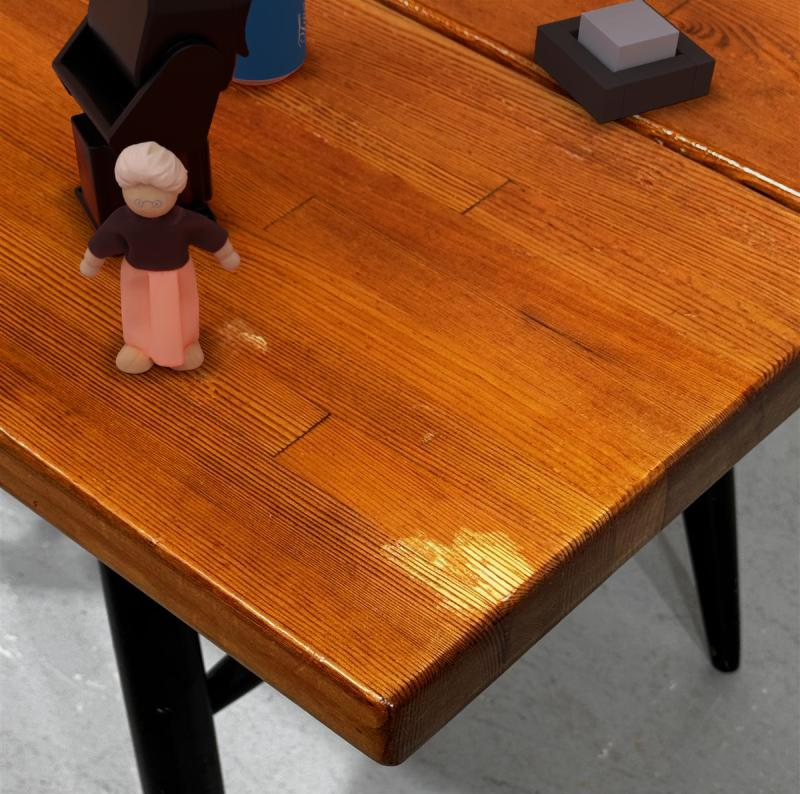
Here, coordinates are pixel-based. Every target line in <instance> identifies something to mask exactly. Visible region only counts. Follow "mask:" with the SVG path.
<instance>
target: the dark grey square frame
mask: <svg viewBox="0 0 800 794" xmlns="http://www.w3.org/2000/svg"><path fill="white" fill-rule="evenodd" d="M642 1H643V2H645V3H646V4H647V5H648V6H649V7H651V8H652V9H653V10H654V11H655V12H657V13H658V14H659V15H660V16H661V17H663V18H664V19H665V20H666V21H667V22H668V23H670V24H671V25H672V26H673V27H674V28H676V29H677V30H678V31H679V37H678V42H677V47H676V53H675V56H674V57H670V58H666V59H662V60H659V61H655V62H651V63H647V64H643V65H639V66H636V67H632V68H628V69H624V70H620V71H616V72H614V73H613V72H612V71H611V70H610V69H608V68H607V67H606V66H605V65H604V64H603V63H602V62H601V61H600V60H599V59H597V58H596V57H595V56H594V55H593V54H592V53H591V52H590V51H589V50H588V49H586V48H585V47H584V46H583V45H582V44H581V43H580V42H579V41H578V35H579V28H580V20H581V14H580V15H577V16H573V17H568V18H564V19H560V20H557V21H551V22H547V23H544V24H543V23H542V24H539V25H537V26H536V32H535V33H536V34H535V44H534V51H533V61H534V62H535V63H536V64H537V65H538V66H539V67H540V68H542V70H543V71H544V72H546V73H547V74H548V76H550V77H551V78H552V79H553V80H554V81H555V82H556V83H557V84H558V85H559V86H560V87H561V88H562V89H564V91H565V92H567V94H569V95H570V96H571V98H573V99H574V100H575V102H577V104H579V105H580V106H581V107H582V108H583V109H584V110H585V111H586V112H587V113H588V114H589V115H590V116H592V117H593V118H594V119H595V120H596V121H597V123H598V124H605V123H608V122H613V121H616V120H619V119H624V118H627V117H631V116H635V115H638V114H643V113H645V112H646V113H647V112H649V111H653V110H657V109H660V108H665V107H668V106H672V105H675V104H678V103H682V102H686V101H689V100H693V99H696V98H701V97H704V96H707V95H710V91H711V85H712V81H713V75H714V71H715V68H716V67H715V66H716V63H717V62H716V58H714V57H713V56H712V55H710V54H709V53H708V52H707V51H706V50H705V49H703V48H702V47H701V46H700V45H699V44H698V43H696V42H695V41H694V40H692V39H691V38H690V37H689V36H688V35H687V34H685V33H684V32H683V31H681V30H680V29H679V28H678V27H677V26H675V25H674V23H672V22H671V21H669V19H667V18H666V17H665V16H663V14H662V13H660V12H659V11H657V10H656V9H655V8H654V7H653V6H652V5H650V4H649V3H648V2H647V1H646V0H642Z"/></svg>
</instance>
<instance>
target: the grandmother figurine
mask: <svg viewBox="0 0 800 794" xmlns="http://www.w3.org/2000/svg"><path fill="white" fill-rule="evenodd" d="M187 173H188V171H187V170H186V169H185V168H184V166H183V164H182V163H181V161H180V160H179V159H178V158H177V157H176V156H175V155H174V154H173V153H172V152H171V151H169V150H167V149H165V148H164V147H161V146H160V145H158V144H157V143H156V142H146V143H140V144H137V145H132V146H129V147H127V148H125V149H124V150H123V151H122V153H121V154H120V156H119V157H118V159H117V162H116V166H115V177H116V181H117V182H118V184H119V186H120V187H122V191H123V196H124V199H125V202H126V203H127V205H124V206H122V207H120V208H118V209H116V210H115V211H114V212H113V213H112V214H111V215H110V216H109V217H108V219H107V220H106V221H105V222H104V223H103V224H102V225H101V226H100V227H99V229H98V230H97V231H96V232H95V231H94V234H93V235H92V236H91V237H90V238H89V239H88V243H87V248H86V250H85V252H84V254H83V255H84V257H83V259H82V260H81V262H80V263H79V272H80V273H81V275H82V276H83V277H85V278H88V279H94V278H96V277H98V276H99V275H100V273H101V271H102V266H103V265H104V264H105V262H106V259H107V258H109V257H111V256H117V255H116V254H120V255H122V254H121V253H123V258H122V261H121V264H120V274H119V275H120V279H119V281H120V285H119V287H120V288H119V289H120V306H121V307H120V308H121V324H122V334H123V335H122V336H123V341H124V345H123V346H122V348H121V349H120V350H119V352H118V354H117V355H116V358H115V365H116V367H117V368H118V370H119V371H121V372H123V373H127V374H137V375H138V374H142V373H145V372H147V371H149V370H150V369H151V368H152V367H153V366H154V364H156V365H158V366H159V367H166V368H170V369H172V370H173V371H179V372H180V371H181V372H182V371H192V370H195V369H198V368H200V366H202V365H203V363H204V362H205V355H204V352H203V349H202V347H201V345H200V341H199V339H200V300H199V299H200V298H199V297H200V296H199V290H198V281H197V275H196V274H197V273H196V268H195V264H194V261H193V258H192V256H191V253H190V252H189V247H190V246H193V247H195V248H197V249H200V250H202V251H204V252H207V253H210V254H212V255H213V256H214V257H215V258H216V259H218V263H219V265H220V267H221V268H222V269H223V270H224V271H225V270H226V271H227V272H232V271H236V270H237V269H238V268H239V267H240V265H241V257H240V254H239V253H238V252H237V251H236V250H234V247H233V244H232V243H231V241H230V239H229V231H228V230H227V229H226V228H224V227H223V226H221V225H220V224H218V223H217V224H216V223H215V222H213V221H212V220H210V219H209V218H207V217H205V216H204V215H201V214H199V213H196V212H193V211H190V210H187V209H184V208H182V207H180V206H178V205H175V202H176V200H177V196H178V194H179V193H181V192H182V190H183V189H184V188H185V186H186V183H187Z"/></svg>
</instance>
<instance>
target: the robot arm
mask: <svg viewBox="0 0 800 794" xmlns="http://www.w3.org/2000/svg"><path fill="white" fill-rule="evenodd" d="M251 2H252V0H88V4H87V13H86V15H85V16H84V17H83V19H81V21H80V23H79V24H78V25H77V27H76V28H75V30H74V31H73V33H72V34H71V35H70V36H69V38H68V39H67V40H66V42H65V44H64V45H63V46H62V47H61V48H60V50H59V52H57V55H56V56H55V57H54V58H53V60H52V61H51V68H52V70H53V71H54V73H55V75H56V76H57V78H58V80H59V81H60V84H61V85H62V87H63V89H64V90H65V91H66V93H67V94H68V95H69V96H71V97H72V98H73V99H74V101H75V102H76V103H77V105H78V107H80V109H81V110H82V113H78V114H74V115H72V116H71V117H70V124H71V130H72V135H73V136H72V137H73V142H74V143H73V144H74V150H75V155H76V160H77V162H76V163H77V169H78V174H79V175H78V176H79V183H80V184H79V185H78V186H76V187H75V188H74V189H73V193H74V198H75V200H76V202H77V204H78V206H79V207H80V209H81V210H82V212H83V214H84V216H85V217H86V219H87V221H88V223H89V224H90V226H91V228H92V229H93V231H94V233H95V232H96V231H97V230H98V229H99V227H100V226H101V225H102V224H103V223H104V222H105V221H106V220H107V219H108V217H109V216H110V215H111V214H112V213H113V212H114V211H115V210H116V209H118V208H120V207H122V206H124V205H127V203H126V202H125V199H124V196H123V191H122V187H120V186H119V184H118V182H117V181H116V177H115V166H116V162H117V159H118V157H119V156H120V154H121V153H122V151H123V150H124V149H125V148H127V147H129V146H132V145H137V144H140V143H146V142H156V143H157V144H158V145H160V146H161V147H164V148H165V149H167V150H169V151H171V152H172V153H173V154H174V155H175V156H176V157H177V158H178V159H179V160H180V161H181V163H182V164H183V166H184V168H185V169H186V170H187V171H188V173H187V183H186V186H185V188H184V189H183V190H182V192H181V193H179V194H178V196H177V200H176V202H175V205H178V206H180V207H182V208H184V209H187V210H190V211H193V212H196V213H199V214H201V215H204V216H205V217H207V218H209V219H210V220H212V221H213V222H215V223H216V224H218V221H217V219H218V218H217V216H216V214H215V213H214V211H213V210H212V208H211V207H210V205H209V204H208V203H207V202H209V201H211V200H212V199H213V197H214V190H213V177H212V165H211V152H210V140H209V138H208V136H209V133H210V129H211V125H212V122H213V119H214V115H215V111H216V108H217V105H218V101H219V97H220V95H221V94H220V93H223V92H225V91H227V90H228V88H229V86H230V85H231V83H232V82H233V81H232V79H233V76H234V72H235V68H236V64H237V54H239V55H241V56H243V57H248V55H249V50H248V47H247V43H246V36H245V27H246V21H247V17H248V13H249V9H250V6H251ZM120 255H124V253H121V254H116V255H115V256H120Z"/></svg>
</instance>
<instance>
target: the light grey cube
mask: <svg viewBox="0 0 800 794" xmlns="http://www.w3.org/2000/svg"><path fill="white" fill-rule="evenodd" d="M580 15H581V20H580V28H579V35H578V41H579V42H580V43H581V44H582V45H583V46H584V47H585V48H586V49H588V50H589V51H590V52H591V53H592V54H593V55H594V56H595V57H596V58H597V59H599V60H600V61H601V62H602V63H603V64H604V65H605V66H606V67H607V68H608V69H610V70H611V71H612V72H613V73H614V72H616V71H620V70H624V69H628V68H632V67H636V66H639V65H643V64H647V63H651V62H655V61H659V60H662V59H666V58H670V57H674V56H675V53H676V47H677V42H678V37H679V31H678V30H677V29H676V28H674V27H673V26H672V25H671V24H670V23H668V22H667V21H666V20H665V19H664V18H663V17H661V16H660V15H659V14H658V13H657V12H655V11H654V10H653V9H652V8H651V7H649V6H648V5H647V4H646V3H645V2H643V1H642V0H630V1H625V2H621V3H617V4H613V5H609V6H605V7H601V8H596V9H593V10H587V11H584V12H581V14H580Z"/></svg>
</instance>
